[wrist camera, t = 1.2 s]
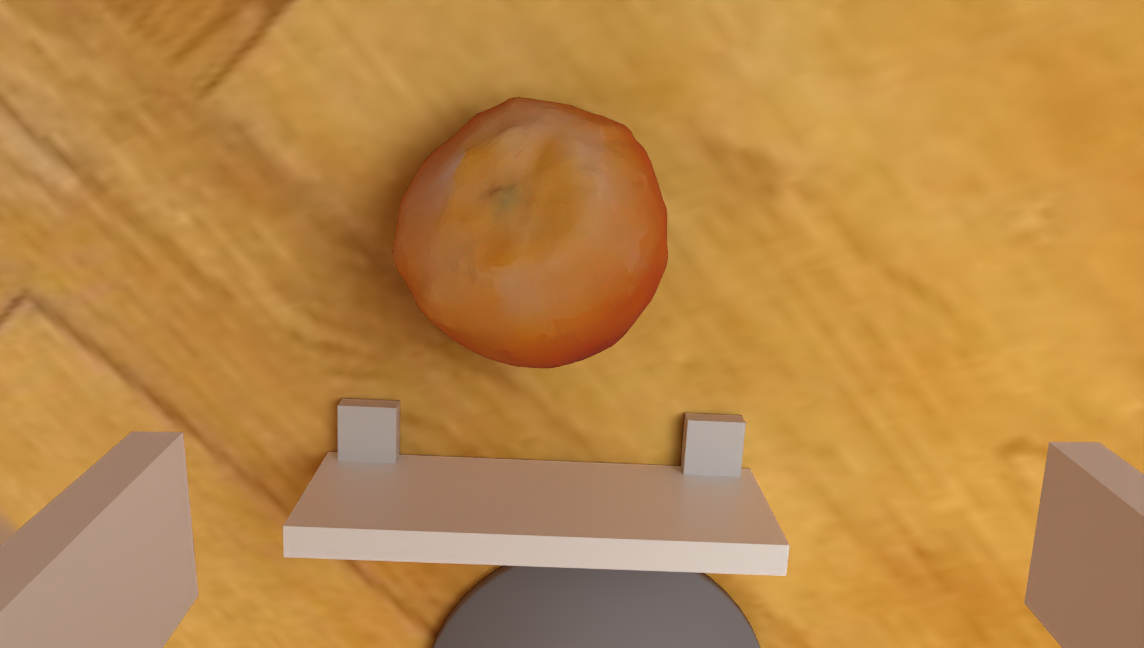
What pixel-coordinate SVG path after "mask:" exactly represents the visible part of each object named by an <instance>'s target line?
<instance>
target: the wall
mask: <svg viewBox="0 0 1144 648" xmlns="http://www.w3.org/2000/svg"><path fill="white" fill-rule="evenodd" d="M337 408H338V452H328V453H327V455H326V456H325V458H324V460H323V461H322V463H321V465H320V466H319V468H318V470H317V471H316V473H315V474H314V476H313V478H312V479H311V481H310V483H309V484H308V486H307V488H306V489H305V491H304V493H303V494H302V496H301V497H300V499H299V501H298V502H297V504H296V506H295V507H294V509H293V511H292V512H291V514H290V516H289V517H288V519H287V520H286V522H285V524H284V525H283V547H284V557H291V558H318V559H345V560H372V561H399V562H426V563H453V564H480V565H507V566H534V567H561V568H588V569H615V570H642V571H669V572H696V573H723V574H750V575H777V576H786V572H787V563H788V555H789V546H790V545H789V543H788V541H787V539H786V538H785V536H784V534H783V532H782V530H781V528H780V526H779V524H778V522H777V520H776V518H775V516H774V514H773V512H772V510H771V508H770V506H769V504H768V503H767V501H766V499H765V497H764V495H763V493H762V491H761V489H760V487H759V485H758V483H757V481H756V479H755V477H754V475H753V473H752V471H751V469H745V468H741V466H742V455H743V445H744V435H745V425H746V422H745V421H744V419H743V417H742V415H726V414H702V413H685V419H684V431H683V443H682V455H681V466H670V465H646V464H621V463H596V462H571V461H547V460H522V459H497V458H472V457H448V456H423V455H399V451H400V401H394V400H370V399H346V398H342V400H341V401H340V403H339V404H338V406H337Z"/></svg>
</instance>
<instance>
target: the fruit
mask: <svg viewBox="0 0 1144 648" xmlns="http://www.w3.org/2000/svg"><path fill="white" fill-rule="evenodd" d="M392 252H393V256H394V260H395V263H396V268H397V271H398V272H399V273H400V275H401V276H402V277H403V279H404V280H405V282H406V284H407V286H408V287H409V289H410V291H411V293H412V295H413V297H414V298H415V300H416V304H417V306H418V307H419V309H420V310H421V311H422V312H423V313H424V314H425V316H426V317H427V318H428V319H429V320H430V321H431V322H432V323H433V324H434V325H435V326H437V327H438V328H439V329H440V330H441V331H443V332H444V333H445V334H446V335H448V336H449V337H450V338H452V339H453V340H455V341H456V342H458V343H459V344H461V345H463V346H465V347H466V348H468V349H470V350H472V351H473V352H475V353H478V354H480V355H482V356H484V357H486V358H489V359H492V360H495V361H498V362H501V363H505V364H509V365H513V366H518V367H530V368H554V367H559V366H562V365H567V364H571V363H574V362H577V361H581V360H584V359H586V358H588V357H591V356H593V355H595V354H597V353H599V352H601V351H603V350H605V349H607V348H609V347H611V346H613V345H614V344H615V343H616V342H618V341H619V340H620V339H621V338H622V337H623V336H624V335H625V334H626V333H627V331H628V330H629V329H630V328H631V326H632V325H633V324H634V322H635V321H636V320H637V319H638V317H639V316H640V314H641V313H642V312H643V311H644V309H645V308H646V307H647V305H648V304H649V303H650V302H651V300H652V298H653V296H654V294H655V292H656V290H657V287H658V285H659V283H660V280H661V278H662V275H663V273H664V271H665V268H666V265H667V259H668V249H667V210H666V206H665V203H664V201H663V198H662V195H661V192H660V188H659V185H658V182H657V179H656V176H655V173H654V170H653V167H652V164H651V161H650V159H649V157H648V155H647V153H646V151H645V149H644V148H643V147H642V146H641V145H640V144H639V143H638V142H637V141H636V139H635V138H634V136H633V134H632V132H631V131H630V130H629V129H628V128H627V127H626V126H625V125H623V124H620V123H618V122H615V121H613V120H611V119H608V118H606V117H603V116H601V115H596V114H593V113H590V112H587V111H584V110H582V109H579V108H577V107H574V106H572V105H566V104H560V103H554V102H548V101H542V100H536V99H529V98H520V97H515V98H510V99H508V100H506V101H505V102H504V103H502V104H499V105H497V106H495V107H493V108H491V109H488V110H486V111H483V112H481V113H478V114H476V115H475V116H474V117H473V118H471V119H470V120H469V121H468V122H467V123H466V124H465V125H464V126H463V127H462V128H461V129H460V130H459V131H458V132H457V133H456V134H455V135H454V136H453V137H452V138H451V139H449V140H448V141H447V142H446V143H444V144H443V145H442V146H440V147H439V148H438V149H437V150H435V151H434V152H433V153H432V154H430V155H429V156H428V157H427V158H426V160H425V161H424V162H423V164H422V165H421V167H420V168H419V170H418V171H417V173H416V175H415V177H414V178H413V180H412V182H411V184H410V185H409V187H408V189H407V191H406V193H405V195H404V196H403V198H402V200H401V204H400V209H399V215H398V222H397V229H396V234H395V239H394V244H393V251H392Z"/></svg>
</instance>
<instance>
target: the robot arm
mask: <svg viewBox="0 0 1144 648" xmlns="http://www.w3.org/2000/svg"><path fill="white" fill-rule="evenodd" d="M197 597H198V586H197V575H196V564H195V554H194V543H193V533H192V522H191V512H190V501H189V490H188V480H187V469H186V459H185V448H184V437H183V432H131V433H130V434H128V435H127V436H126V437H125V438H124V439H123V440H121V441H120V442H119V443H118V444H117V445H116V446H115V447H113V448H112V449H111V450H110V451H109V452H108V453H106V454H105V455H104V456H103V457H102V458H101V459H100V460H98V461H97V462H96V463H95V464H94V465H93V466H91V467H90V468H89V469H88V470H87V471H86V472H85V473H83V474H82V475H81V476H80V477H79V478H78V479H76V480H75V481H74V482H73V483H72V484H71V485H70V486H68V487H67V488H66V489H65V490H64V491H63V492H61V493H60V494H59V495H58V496H57V497H56V498H55V499H53V500H52V501H51V502H50V503H49V504H48V505H46V506H45V507H44V508H43V509H42V510H41V511H39V512H38V513H37V514H36V515H35V516H34V517H33V518H31V519H30V520H29V521H28V522H27V523H26V524H24V525H23V526H22V527H21V528H20V529H19V530H18V531H16V532H15V533H14V534H13V535H12V536H11V537H9V538H8V539H7V540H6V541H5V542H4V543H3V544H1V545H0V648H163V647H164V645H165V644H166V643H167V641H168V640H169V638H170V637H171V635H172V634H173V632H174V631H175V629H176V628H177V626H178V625H179V623H180V622H181V620H182V619H183V617H184V616H185V615H186V613H187V612H188V610H189V609H190V607H191V606H192V604H193V603H194V601H195V600H196V598H197ZM1025 604H1026V606H1027V607H1028V608H1029V609H1030V610H1031V611H1032V613H1033V614H1034V615H1035V616H1036V617H1037V619H1038V620H1039V621H1040V622H1041V623H1042V624H1043V626H1044V627H1045V628H1046V629H1047V630H1048V632H1049V633H1050V634H1051V635H1052V636H1053V637H1054V639H1055V640H1056V641H1057V642H1058V643H1059V645H1060V646H1061V647H1062V648H1144V474H1142V473H1141V472H1140V471H1138V470H1137V469H1135V468H1134V467H1133V466H1131V465H1130V464H1128V463H1127V462H1126V461H1124V460H1123V459H1122V458H1120V457H1119V456H1117V455H1116V454H1115V453H1113V452H1112V451H1110V450H1109V449H1108V448H1106V447H1105V446H1103V445H1102V444H1101V443H1099V442H1049V446H1048V453H1047V459H1046V466H1045V472H1044V479H1043V485H1042V492H1041V498H1040V505H1039V511H1038V518H1037V525H1036V531H1035V538H1034V544H1033V551H1032V557H1031V564H1030V570H1029V577H1028V583H1027V590H1026V596H1025Z"/></svg>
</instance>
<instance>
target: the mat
mask: <svg viewBox="0 0 1144 648" xmlns="http://www.w3.org/2000/svg"><path fill="white" fill-rule="evenodd" d="M432 648H760V646H759V643H758V641H757V638H756V636H755V634H754V632H753V629H752V627H751V625H750V623H749V622H748V620H747V619H746V617H745V615H744V614H743V612H742V610H741V609H740V608H739V606H738V605H737V604H736V603H735V602H734V600H733V599H732V598H731V597H730V596H729V594H728V593H727V592H726V591H725V590H724V589H723V588H721V587H720V586H719V585H718V584H717V583H716V582H715V581H714V580H713V579H711V578H710V577H709V576H707V575H706V574H704V573H696V572H669V571H642V570H615V569H588V568H561V567H534V566H507V565H504V566H502V567H500V568H498V569H497V570H495V571H494V572H492V573H491V574H490V575H488V576H487V577H486V578H484V579H483V580H482V581H480V582H479V583H478V584H477V585H475V586H474V587H473V588H472V589H471V590H470V591H469V592H468V593H467V594H466V595H465V596H464V597H463V598H462V599H461V600H460V602H459V603H458V604H457V605H456V607H455V608H454V609H453V611H452V612H451V613H450V614H449V616H448V617H447V619H446V621H445V623H444V624H443V626H442V628H441V629H440V631H439V633H438V635H437V638H436V640H435V642H434V645H433V647H432Z"/></svg>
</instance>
